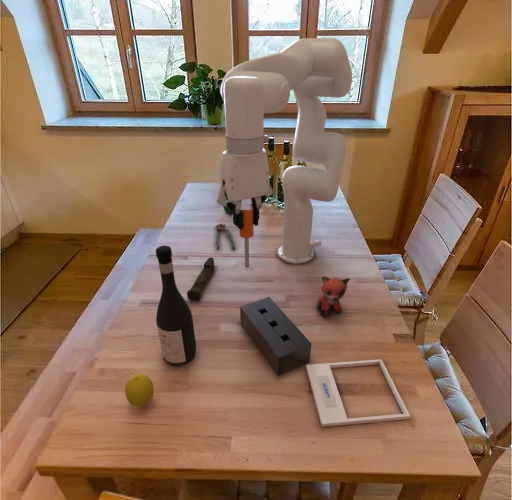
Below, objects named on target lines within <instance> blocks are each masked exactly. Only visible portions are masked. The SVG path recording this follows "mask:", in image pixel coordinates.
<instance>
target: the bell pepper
mask: <svg viewBox="0 0 512 500" xmlns="http://www.w3.org/2000/svg"><path fill="white" fill-rule="evenodd" d="M226 200H228V197H227V198H226ZM228 201H229V200H228ZM230 202H231V201H230ZM241 205H243V200H241ZM222 207H223V209H224V212H225V213H226V214H228V215H229V216H230V215H232V216H233V211H232V210H231V209H229V208H228V207H225V206H222Z"/></svg>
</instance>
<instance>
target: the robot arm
mask: <svg viewBox="0 0 512 500" xmlns="http://www.w3.org/2000/svg"><path fill="white" fill-rule="evenodd" d="M346 49H347V48H346V47H345V45H344V44H343V42H342V41H341V40H340V39H337V38H335V37H331V38H330V37H308V38H307V37H305V38H299V39H297V40H295V41H294V42H292V43H291V44H289V45H288V46H286V47H285V48H283V49H282V50H280V51H279V52H274V53H270V54H267V55H264V56H261V57H257V58H253V59H249V60H246V61H243V62H241V63H239V64H238V65H235V66H234V67H233V68H231V69H230V70H228V72H227V73H226V74H225V76H224V77H223V78H222V82H221V84H220V95H221V99H222V101H223V103H224V122H225V123H224V125H225V145H226V146H225V147H226V149H225V150H223V151H222V154H221V160H220V170H219V171H220V172H219V173H220V174H219V190H220V191H219V194H218V197H217V199H216V203H217V204H218V205H220V206H222V207H223V206H225V207H228V208H229V209H231V210H232V211H233V214H232V223H233V225H234V226H235V227H236V228H237V229H238V230H239V231H240V230H241V229H243V214H242V213H241V200H242V201H244V200H249V199H250V202H251V203H250V205H251V206H253V226H256V227H258V226H259V221H260V209H262V207H263V204H264V203H265V202H266V200H267V199H268V198H269V197H270V196H272V195H273V194H274V190H273V188H272V186H271V185H270V166H269V160H268V155H267V150H266V149H265V143H269V141H270V139H269V136H268V135H265V134H264V129H265V127H264V126H265V125H264V124H265V123H264V121H265V117H264V115H265V114H275V113H276V114H277V113H278V112H281V111H283V109H284V108H285V107H286V106H287V105H288V103H289V101H290V97H291V91H292V92H293V95H294V98H295V102H296V106H297V120H296V126H295V132H294V137H293V143H292V144H293V145H292V156H293V158H294V159H295V160H297V161H299V162H304V163H309V164H317V165H323V166H325V169H323V168H317V167H313V166H312V167H311V166H304V165H292V166H288V167H287V168H286V169H285V170H284V171H283V173H282V177H281V185H282V193H283V222H282V226H283V227H282V228H283V229H282V245H280V246H279V247H278V249H277V256H278V258H279V259H280V260H282V261H284V262H286V263H288V264H295V265H300V264H305V263H308V262H310V261H311V260H313V258H314V256H315V255H314V254H315V251H314V250H313V249H315V248H316V247H319V246H322V241H321V240H320V239H318V240H314V238H312V227H313V217H314V207H313V203H312V201H311V200H313V201H318V202H326V203H329V202H332V201H334V200H335V199H336V197H337V194H338V191H339V187H340V182H341V176H342V171H343V166H344V162H345V157H346V151H347V142H346V138H345V136H344V135H342V134H341V133H339V132H333V131H325V126H326V122H327V121H326V120H327V117H328V116H327V111H326V108H325V105H324V104H323V102H322V101H321V99H320V97H322V98H334V99H337V98H338V99H339V98H344V97H346V96H347V95H348V93H349V92H350V90H351V87H352V83H353V70H352V67H351V63H350V59H349V56H348V52H347V50H346ZM227 197H228V200H229V201H228V200H226V198H227ZM230 201H231V202H230Z"/></svg>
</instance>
